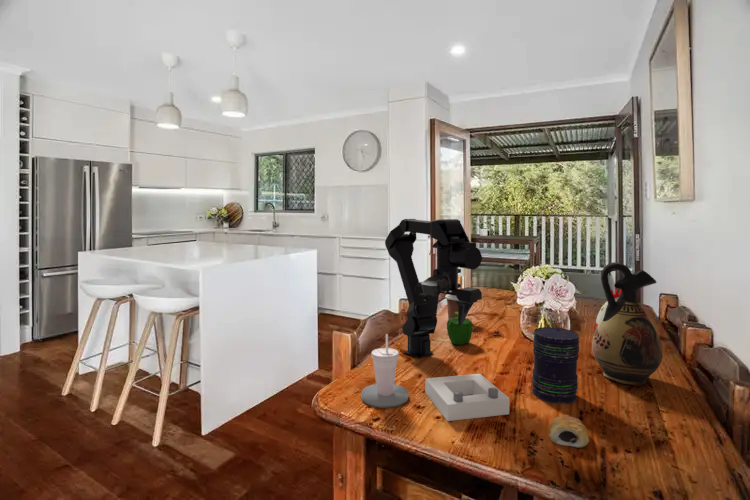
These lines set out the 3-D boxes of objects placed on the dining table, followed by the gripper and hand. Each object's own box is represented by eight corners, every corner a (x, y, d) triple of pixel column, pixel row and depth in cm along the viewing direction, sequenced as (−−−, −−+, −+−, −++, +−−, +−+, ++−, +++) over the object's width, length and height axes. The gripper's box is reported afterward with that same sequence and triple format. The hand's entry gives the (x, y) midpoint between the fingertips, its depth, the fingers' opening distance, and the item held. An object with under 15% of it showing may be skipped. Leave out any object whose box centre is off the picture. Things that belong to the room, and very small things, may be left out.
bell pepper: (474, 347, 133) (475, 316, 132) (449, 346, 133) (449, 316, 132) (469, 339, 142) (469, 310, 141) (445, 339, 142) (445, 310, 141)
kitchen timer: (590, 323, 162) (591, 285, 160) (628, 324, 160) (630, 286, 159) (604, 333, 148) (606, 291, 147) (646, 334, 146) (648, 292, 145)
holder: (425, 392, 99) (425, 372, 99) (479, 387, 102) (479, 367, 102) (447, 421, 86) (447, 397, 85) (509, 414, 88) (509, 391, 88)
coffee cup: (444, 324, 160) (445, 293, 159) (444, 318, 169) (445, 289, 168) (469, 325, 159) (469, 294, 158) (467, 319, 168) (468, 290, 167)
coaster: (351, 396, 97) (351, 392, 97) (385, 383, 105) (385, 379, 105) (383, 412, 89) (383, 408, 89) (418, 397, 97) (418, 393, 96)
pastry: (551, 421, 86) (552, 403, 86) (588, 429, 83) (589, 410, 83) (548, 443, 77) (549, 424, 77) (589, 453, 75) (590, 433, 74)
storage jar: (574, 408, 91) (577, 341, 90) (527, 397, 96) (529, 334, 95) (579, 391, 100) (581, 330, 98) (536, 383, 105) (538, 325, 103)
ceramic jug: (649, 371, 113) (656, 261, 110) (669, 394, 98) (677, 268, 95) (580, 363, 118) (584, 259, 115) (589, 384, 104) (594, 265, 101)
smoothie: (385, 401, 92) (386, 339, 91) (365, 392, 97) (365, 333, 96) (404, 392, 97) (404, 333, 96) (384, 384, 102) (384, 328, 100)
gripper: (402, 264, 114) (401, 320, 116) (457, 271, 101) (456, 334, 102) (428, 261, 122) (428, 313, 123) (483, 267, 108) (482, 326, 109)
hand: (446, 321), depth 114 cm, fingers open, 9 cm apart
